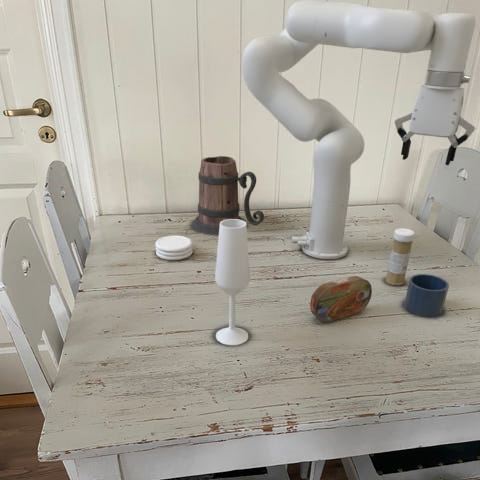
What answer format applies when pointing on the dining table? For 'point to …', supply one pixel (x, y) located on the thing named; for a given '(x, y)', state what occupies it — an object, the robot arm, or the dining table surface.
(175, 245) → the white round stack
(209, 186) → the tankard
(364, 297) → the tin
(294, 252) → the dining table surface
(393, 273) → the sprinkles bottle
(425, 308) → the cup
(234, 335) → the champagne flute
